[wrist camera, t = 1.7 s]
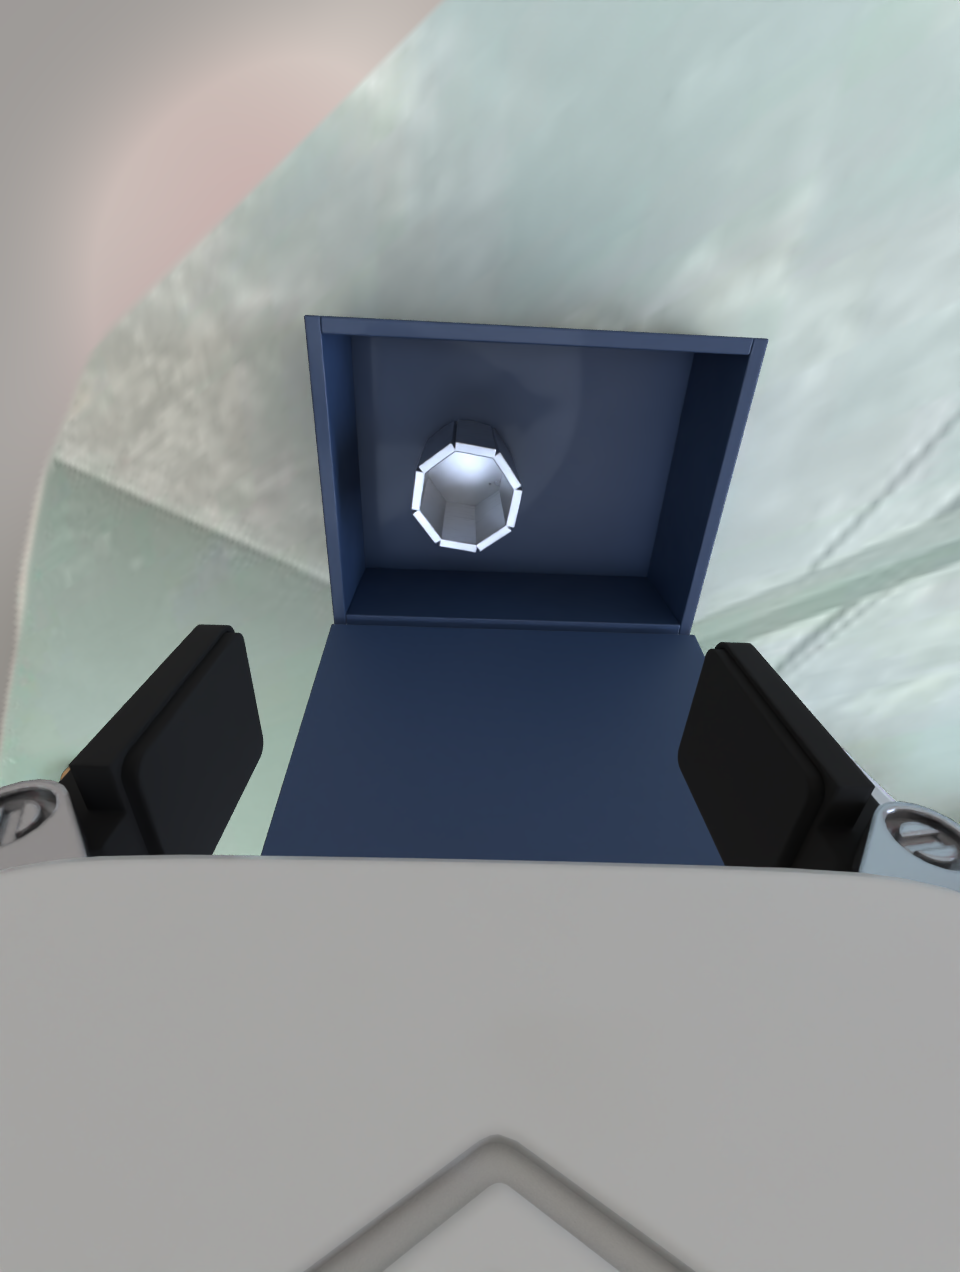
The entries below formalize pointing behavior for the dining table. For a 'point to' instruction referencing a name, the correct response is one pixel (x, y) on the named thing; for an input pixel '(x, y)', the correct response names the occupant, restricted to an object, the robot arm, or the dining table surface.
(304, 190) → the dining table surface
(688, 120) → the dining table surface
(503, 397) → the chest
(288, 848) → the lid
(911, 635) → the dining table surface
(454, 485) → the tumbler
